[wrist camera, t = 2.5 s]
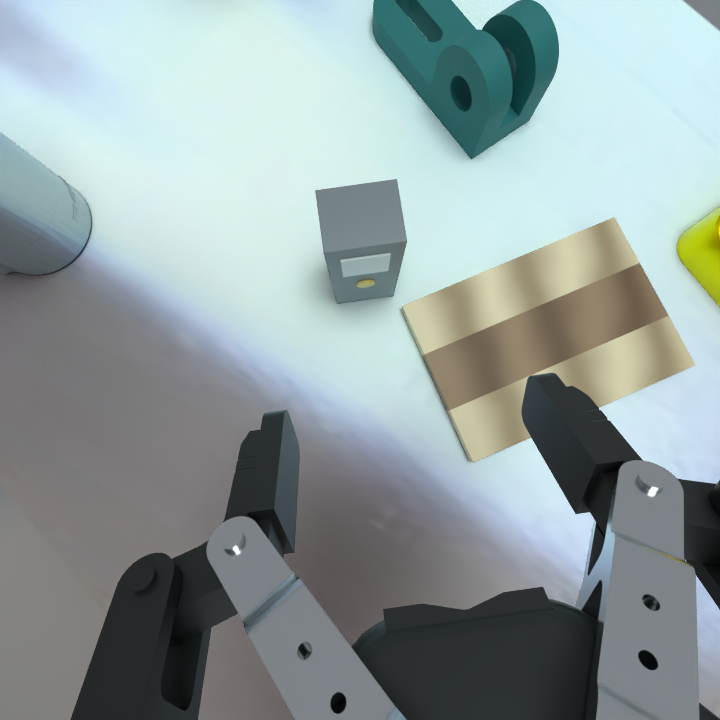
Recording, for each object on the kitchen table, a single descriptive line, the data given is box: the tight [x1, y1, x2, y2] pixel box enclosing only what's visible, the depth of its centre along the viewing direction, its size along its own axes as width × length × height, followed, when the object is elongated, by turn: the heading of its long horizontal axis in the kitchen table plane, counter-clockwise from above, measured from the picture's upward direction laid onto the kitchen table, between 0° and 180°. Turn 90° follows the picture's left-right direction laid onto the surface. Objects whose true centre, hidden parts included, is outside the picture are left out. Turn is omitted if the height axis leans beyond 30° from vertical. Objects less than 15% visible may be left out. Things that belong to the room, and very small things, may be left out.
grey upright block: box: [315, 179, 407, 304], centre depth 28 cm, size 5×4×11 cm
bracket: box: [373, 0, 559, 159], centre depth 33 cm, size 18×7×8 cm, turn 35°
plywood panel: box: [401, 217, 695, 463], centre depth 32 cm, size 20×14×1 cm
